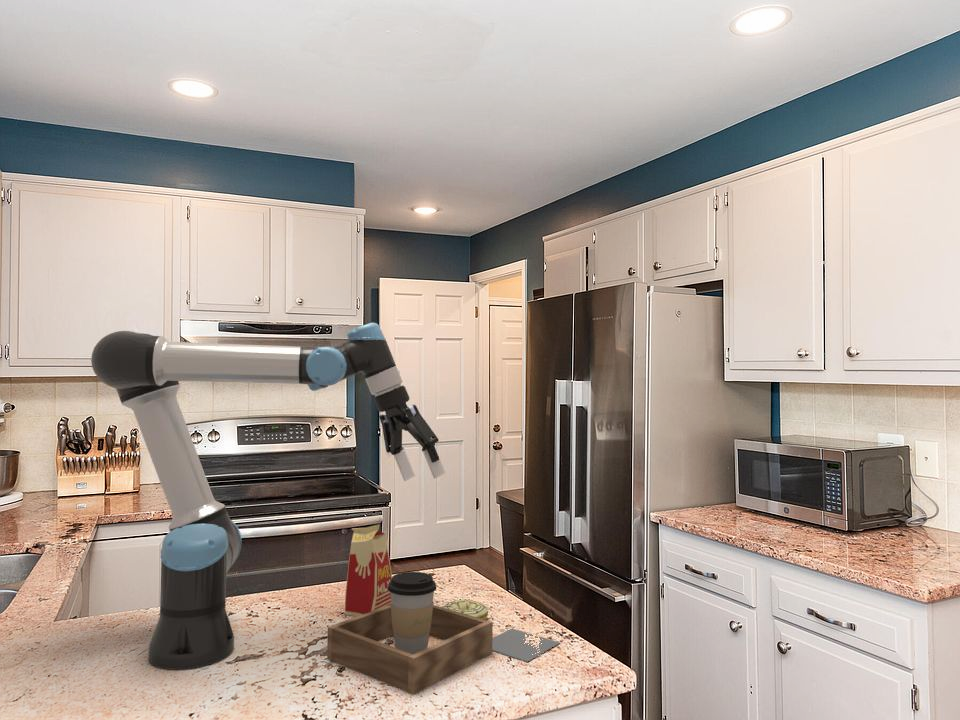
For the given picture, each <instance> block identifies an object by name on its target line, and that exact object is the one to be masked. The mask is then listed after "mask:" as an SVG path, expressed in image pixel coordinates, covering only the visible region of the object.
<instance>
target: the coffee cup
mask: <svg viewBox="0 0 960 720" xmlns="http://www.w3.org/2000/svg"><path fill="white" fill-rule="evenodd" d="M437 588H438V587H437V583H436V581H434V579H433V576H432V575H431V574H429V573H426V572H421V571H420V572H419V571H406V572H404V571H403V572H400V573H397V574H394V575H392V580H391V582H389V584H388V588H387V589H388V591H389V592H391V615H392V628H393V633H394V635H393V640H394V648H397V649H400V650H403V651H405V652H408V653H411V654H416V653H418V652H420V651H422V650H424V649H427V648H429V647H428V645H429V638H430V637H429V632H430V629H431V620H432V611H433V605H434V594H435V593H434V592H435V591H437Z"/></svg>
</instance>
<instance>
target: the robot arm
mask: <svg viewBox="0 0 960 720" xmlns="http://www.w3.org/2000/svg"><path fill="white" fill-rule="evenodd" d="M346 335H347V340H348V341H345V342H343V343H342V344H339V345H336V346H334V347H333V346H319V347H316V346H315V347H314V346H297V345H296V346H294V345H293V346H292V345H291V346H290V345H269V344H268V345H266V344H265V345H264V344H245V343H244V344H242V343H241V344H239V343H238V344H237V343H214V342H211V343H210V342H189V341H188V342H187V341H184V342H183V341H169V340H168V339H167V338H165V336H164V335H152V334H150V333H141V332H136V331H130V330H118V331H114V332H111V333H109V334H106V335H105V336H103V337H102V338H100V340H98V342H97V343H96V344H95V346H94V348H93V350H92V353H91V359H90V361H91V368H92V370H93V372H94V374H95V376H96V378H97V379H99V380H100V381H101V382H102V383H103V384H105V385H107V386H108V387H110V388H113V389H116V392H117V395H118V397H119V400H120V403H121V405H122V406H124V407H125V408H128V409H130V410H132V411H133V414H134V416H135V419H136V422H137V424H138V427H139V431H140V433H141V434H142V439H143V440H144V443H145V446H146V449H147V451H148V454H149V456H150V457H149V458H150V459H151V461H152V464H153V466H154V469H155V473H156V475H157V477H158V480H159V483H160V486H161V488H162V491H163V493H164V496H165V499H166V501H167V504H168V507H169V509H170V511H171V515H172V519H171V522H170V524H169V525H168V530H169V532H167V534H166V535H165V536H164V537H163V540H162V543H161V545H162V546H161V550H160V559H161V560H160V562H161V563H160V565H161V566H160V591H159V593H160V596H159V597H160V599H159V607H160V608H159V617H158V621H157V623H156V625H155V628H154V631H153V635H152V637H151V640H150V643H149V645H148V653H147V656H148V657H147V659H148V662H149V663H150V664H151V665H152V666H154V667H157V668H160V669H165V670H166V669H167V670H186V669H187V670H188V669H194V668H201V667H204V666H207V665H211V664H215V663H217V662H219V661H222V660H224V659H225V658H227V657H228V656H230V655H231V654H232V652H234V649H235V635H234V632H233V629H232V626H231V622H230V619H229V616H228V613H227V608H226V602H227V601H226V598H227V597H226V596H227V594H226V593H227V573H228V572H229V570H230V569H231V568H232V566H234V564H235V563H236V561H237V559H238V558H239V555H240V553H241V548H242V534H241V531H240V529H239V527H238V525H237V524H236V523H235V522H234V521H233V520H232V519H230V518H231V517H230V515H229V513H228V510H227V508H226V505H225V504H224V503H221V502H220V501H217V500H216V499H215V497H214V495H213V493H212V490H211V487H210V484H209V482H208V479H207V476H206V474H205V471H204V469H203V466H202V463H201V460H200V457H199V455H198V452H197V450H196V446H195V444H194V441H193V439H192V436H191V433H190V431H189V429H188V426H187V423H186V421H185V417H184V415H183V412H182V410H181V407H180V404H179V402H178V399H177V393H178V391H179V389H180V388H181V384H180V382H212V383H217V382H218V383H246V384H247V383H249V384H251V383H253V384H256V383H257V384H286V385H287V384H289V385H290V384H294V385H295V384H296V385H297V384H298V385H307V386H308V388H309V389H310V390H311V391H313V392H316V391H318V390H319V391H320V390H321V389H326V388H328V387H329V386H333V385H334V386H335V385H337V383H339V382H342V381H344V380H346V379H348V378H351V377H353V376H356V375H358V374H360V373H362V375H363V377H364V380H365V383H366V384H367V385H366V386H367V388H368V390H369V392H370V394H371V395H372V396H373V395H374V397H373V401H374V403H375V407H376V408H377V410H378V412H379V413H382V412H384V413H382V414H379V416H378V418H379V421H380V423H381V424H380V425H381V428H382V435H383V439H384V447H385V451H386V453H387V454H389V453H390V454H391V456H393V458H394V459H395V461H396V465H397V467H398V469H399V471H400V474H401V476H402V479H403V481H404V482H406V481H409V480H410V479H412V478H414V477H415V476H416V475H415V472H414V471H413V470H414V469H413V467H412V465H411V463H410V460H409V458H408V455H407V453H406V451H405V448H404V446H403V431H404V432H405V431H406V432H408V433H409V434H410V435H411V436H412V437H413V438H414V439H415V441H416V442H417V443H419V445H420V446H421V447H422V449H421V451H422V453H423V455H424V458H425V460H426V463H427V466H428V468H429V470H430V472H431V475H432V476H433V479H437V478H439V477H441V476H442V475H445V474H446V470H445V469H444V467H443V464H442V461H441V459H440V456H439V455H438V452H437V451H438V450H437V448H436V443H438V442H439V438H438V437H437V435H436V434H435V432H434V431H433V429H432V428H431V427H430V425H429V424H428V423H427V421H426V420H425V418H424V417H423V416H422V414H421V413H420V411H419V409H418V407H417V405H416V404H415V403H414V404H411V405H410V406H408V405H407V402H409V401H410V396H409V393H408V391H407V388H406V386H404V385H402V384H403V379H402V377H401V375H400V370H399V369H398V367H397V365H396V362H395V359H394V356H393V354H392V352H391V349H390V347H389V344H388V342H387V340H386V337H385V335H384V334H383V330H382V329H381V327H380V325H379V324H378V323H376V322H370V323H367V324H364V325H360V326H359V327H356V328H354V329H352V330H350V331H348V332H347V334H346Z"/></svg>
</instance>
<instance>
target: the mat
mask: <svg viewBox="0 0 960 720" xmlns="http://www.w3.org/2000/svg"><path fill="white" fill-rule="evenodd" d="M527 633H528V632H525V631H523V630H519V629H515V628H510V629H508V630H506V631H504V632H502V633H500V634H498V635H496V636H494V637H492V652H494V653H497V654H500V655H503V656H506V655H507V657H509V656H510V658H512V657H513V658H512V659H515V658H517V659H516V660H518V659H519V661H521V660H523V661H522V662H524V661H526V662H525V663H527V662H528V661H530V660H531V661H533V660H534V659H533V658H535V657H536V658H538V657H539V656H538V655H540V654H542V653H543V652H545V651H547V650H548V651H550V650H552V649H553V648H552V647H554V648H556V647H557V646H559V645H560V644H561V642H560V641H556V640H552V639H549V638H546V637H543V636H539V635H538V636H539V638H540V640H541V641H540V643H539V648H537V647H538V646H537V647H534V646H535V645H533V646H531V645H532V644H533V643H532V644H529V643H525V641H526V639H525V638H526V637H525V634H526V635H527V637H529V635H530V636H533V635H534V634H533V635H532V633H529V634H527ZM537 638H538V637H537ZM523 639H524V640H523ZM542 639H543V640H542ZM529 642H530V640H529ZM524 643H525V644H524ZM536 643H537V642H536ZM541 643H542V645H540V644H541ZM528 644H529V645H528ZM558 644H559V645H558ZM556 645H557V646H556ZM533 647H534V648H533ZM536 648H537V649H536ZM551 648H552V649H551ZM538 649H540V650H538ZM549 649H550V650H549ZM537 650H538V651H537ZM539 651H540V652H539ZM548 651H547V652H548ZM537 652H539V653H537ZM535 653H536V654H535ZM545 653H546V652H545ZM532 654H533V655H532ZM543 654H544V653H543ZM543 654H542V655H543ZM537 656H538V657H537ZM540 656H541V655H540ZM536 658H535V659H536ZM532 659H533V660H532ZM531 661H530V662H531ZM528 663H529V662H528Z"/></svg>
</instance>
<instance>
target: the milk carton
mask: <svg viewBox="0 0 960 720" xmlns="http://www.w3.org/2000/svg"><path fill="white" fill-rule="evenodd" d="M380 526H381V525H380V523H379V524H375V525H371V526H367V527H358V528H357V527H356V528H355V527H354V528H351V530H352V531H353V533H352V539H351V543H350V551H349V557H348V564H347V575H346V587H345V598H344V614H343V615H349V616H353V617H357V616H360V615H363V614H366V613H368V612H371V611H374V610H377V609H380V608H382V607H385V606H388V605H391V592H389V591H388V589H387V588H388V584H389V582H391V580H392V577H393V573H392V568H391V560H390V555H389V554H390V553H389V549H388V544H387V538H386V534H385V533H384V532H382V531H381V530H380Z"/></svg>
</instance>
